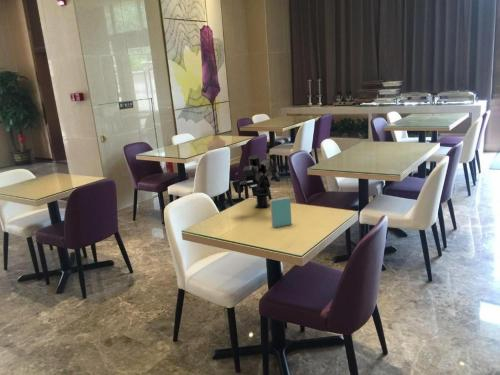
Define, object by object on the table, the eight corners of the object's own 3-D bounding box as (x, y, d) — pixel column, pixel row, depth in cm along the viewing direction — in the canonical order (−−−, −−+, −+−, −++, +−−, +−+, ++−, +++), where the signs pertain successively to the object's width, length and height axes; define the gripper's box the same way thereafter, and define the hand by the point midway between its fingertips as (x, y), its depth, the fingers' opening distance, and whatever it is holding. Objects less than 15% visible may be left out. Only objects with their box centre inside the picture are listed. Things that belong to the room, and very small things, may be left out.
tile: (271, 226, 201) (270, 199, 198) (290, 223, 203) (288, 196, 200) (273, 227, 199) (271, 201, 195) (291, 224, 201) (290, 198, 197)
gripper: (233, 166, 219) (224, 179, 205) (267, 159, 212) (260, 172, 199) (240, 185, 223) (231, 200, 209) (274, 179, 216) (267, 194, 203)
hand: (247, 191), depth 205 cm, fingers open, 9 cm apart
